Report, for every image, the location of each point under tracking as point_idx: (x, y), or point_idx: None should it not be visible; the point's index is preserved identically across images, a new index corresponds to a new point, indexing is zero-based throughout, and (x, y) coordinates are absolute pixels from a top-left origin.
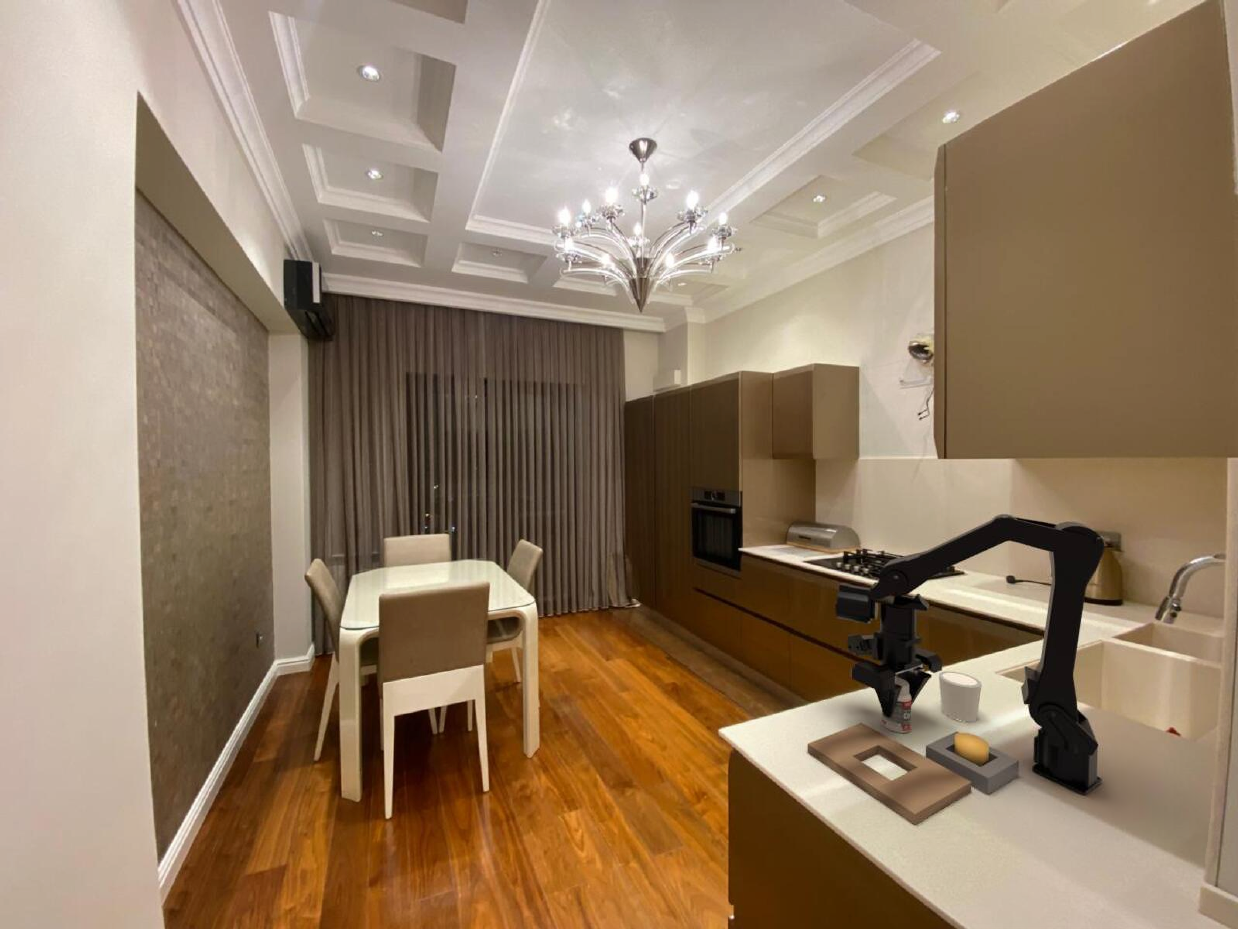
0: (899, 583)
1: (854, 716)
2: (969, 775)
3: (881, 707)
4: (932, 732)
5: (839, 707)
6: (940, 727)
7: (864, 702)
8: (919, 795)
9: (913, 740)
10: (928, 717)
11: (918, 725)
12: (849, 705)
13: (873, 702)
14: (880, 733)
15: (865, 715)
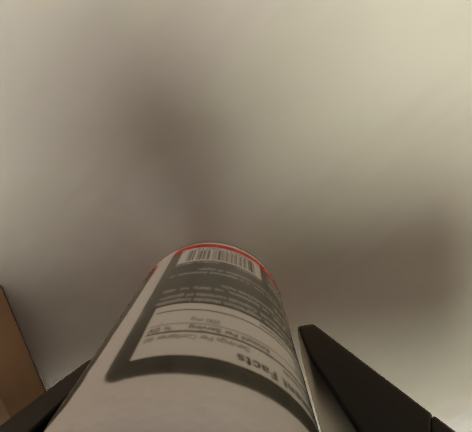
0: None
1: (54, 155)
2: None
3: (35, 402)
4: None
5: (22, 23)
6: (420, 366)
7: (249, 18)
8: None
9: None
10: (463, 286)
11: (334, 326)
12: (111, 21)
13: (312, 39)
14: (1, 412)
15: (130, 165)
